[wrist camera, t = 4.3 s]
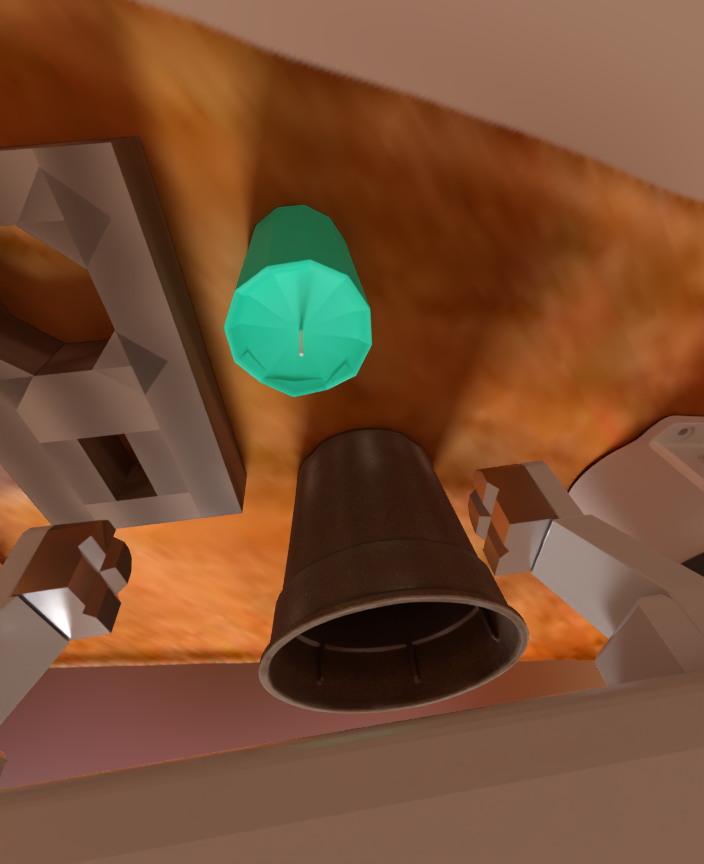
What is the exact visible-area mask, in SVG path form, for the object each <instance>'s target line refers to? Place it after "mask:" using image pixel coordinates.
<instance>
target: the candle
mask: <svg viewBox="0 0 704 864" xmlns="http://www.w3.org/2000/svg"><path fill="white" fill-rule="evenodd" d="M224 330H225V333H226V336H227V340H228V343H229V346H230V349H231V353H232V356H233V359H234V362H236V363H237V364H238V365H239V366H241V367H242V368H243V369H244V370H246V371H247V372H248V373H249V374H251V375H252V376H253V377H254V378H256V379H257V380H258V381H259V382H261V383H263V384H265V385H268V386H270V387H272V388H274V389H276V390H279V391H281V392H283V393H285V394H287V395H290V396H292V397H297V396H301V395H306V394H311V393H315V392H320V391H324V390H328V389H330V388H332V387H334V386H336V385H338V384H340V383H342V382H344V381H346V380H348V379H350V378H352V377H354V376H356V375H357V373H358V371H359V369H360V367H361V365H362V363H363V361H364V359H365V357H366V355H367V353H368V351H369V349H370V348H371V346H372V333H371V313H370V307H369V304H368V301H367V299H366V296H365V293H364V290H363V288H362V285H361V282H360V280H359V277H358V274H357V272H356V269H355V266H354V263H353V261H352V258H351V255H350V253H349V250H348V247H347V245H346V242H345V240H344V238H343V237H342V235H341V234H340V232H339V231H338V229H337V228H336V226H335V225H334V223H333V221H332V220H331V218H330V217H328V216H326V215H324V214H322V213H320V212H318V211H316V210H314V209H312V208H310V207H308V206H306V205H295V206H285V207H277V208H275V209H274V210H273V211H272V212H271V213H270V214H268V215H267V216H266V217H265V218H264V219H262V220H261V221H260V222H259V223H258V224H257V225H256V226H255V229H254V232H253V236H252V239H251V242H250V245H249V248H248V251H247V255H246V258H245V261H244V264H243V267H242V270H241V274H240V277H239V280H238V283H237V286H236V289H235V293H234V296H233V299H232V302H231V306H230V309H229V312H228V315H227V319H226V322H225V325H224Z"/></svg>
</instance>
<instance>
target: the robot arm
mask: <svg viewBox="0 0 704 864" xmlns="http://www.w3.org/2000/svg"><path fill="white" fill-rule="evenodd" d="M472 482H473V484H474V486H475V488H476V489H475V490H474V491H473V492H472V493H471V494H470V496H469V503H468V507H469V516H470V520H471V523H472V526H473V528H474V531H475V533H476V534H477V535H478V536H479V537H481V538H482V539H484V540H485V544H484V549H483V551H484V553H485V556H486V558H487V560H488V562H489V565H490V567H491V569H492V571H493V573H494V576H498V575H506V574H514V573H522V572H530V571H532V574H533V575H534V576H535V577H537V578H538V579H539V580H540V581H541V582H542V583H544V584H545V585H546V586H547V587H548V588H549V589H551V590H552V591H553V592H554V593H555V594H557V595H558V596H559V597H560V598H561V599H562V600H564V601H565V602H566V603H567V604H568V605H569V606H571V607H572V608H573V609H574V610H575V611H577V612H578V613H579V614H580V615H581V616H582V617H584V618H585V619H586V620H587V621H588V622H589V623H591V624H592V625H593V626H594V627H595V628H596V629H598V630H599V631H600V632H601V633H602V634H604V635H605V636H606V637H607V638H608V639H609V640H608V641H607V642H606V643H605V645H604V646H603V647H602V649H601V650H600V651H599V653H598V654H597V656H596V659H595V661H594V662H595V664H596V666H597V667H598V670H599V672H600V673H601V675H602V677H603V679H604V681H605V682H606V684H607V686H603V687H597V688H591V689H585V690H579V691H573V692H568V693H562V694H556V695H550V696H544V697H538V698H532V699H527V700H521V701H515V702H510V703H503V704H497V705H491V706H486V707H480V708H474V709H468V710H462V711H456V712H451V713H445V714H438V715H432V716H427V717H421V718H415V719H409V720H403V721H397V722H391V723H385V724H380V725H374V726H368V727H362V728H356V729H350V730H345V731H339V732H333V733H327V734H321V735H316V736H310V737H303V738H297V739H292V740H286V741H280V742H274V743H269V744H262V745H256V746H250V747H245V748H239V749H233V750H227V751H221V752H216V753H210V754H204V755H198V756H192V757H186V758H180V759H174V760H168V761H162V762H157V763H151V764H145V765H139V766H133V767H128V768H121V769H115V770H110V771H104V772H98V773H92V774H86V775H80V776H75V777H69V778H63V779H57V780H51V781H45V782H39V783H34V784H27V785H22V786H16V787H10V788H4V789H0V864H704V417H697V416H677V415H675V416H669V417H666V418H664V419H662V420H661V421H659V422H658V423H656V424H655V425H654V426H652V427H651V428H650V429H649V430H648V431H646V432H645V433H644V434H643V435H642V436H640V437H639V438H638V439H637V440H635V441H633V442H632V443H630V444H628V445H626V446H624V447H622V448H620V449H618V450H617V451H615V452H613V453H611V454H609V455H608V456H606V457H605V458H603V459H602V460H600V461H599V462H597V463H596V464H595V465H593V466H592V467H591V468H590V469H589V470H587V471H586V472H585V473H584V474H583V475H582V476H581V477H580V478H579V479H578V481H577V482H576V483H575V484H574V486H573V487H572V488H571V490H570V492H569V493H568V492H567V491H566V490H565V488H564V487H563V486H562V484H561V483H560V481H559V480H558V479H557V477H556V476H555V475H554V473H553V472H552V471H551V469H550V468H549V467H548V465H547V464H546V463H545V462H543V461H535V462H528V463H520V464H512V465H505V466H498V467H491V468H484V469H478V470H476V471H475V473H474V475H473V480H472ZM115 531H116V529H115V528H114V526H113V525H112V524H111V522H110V521H109V520H96V521H87V522H78V523H69V524H59V525H53V526H44V527H35V528H30V529H28V530H27V531H26V532H24V533H23V534H22V535H21V537H20V538H19V540H18V541H17V543H16V545H15V546H14V548H13V549H12V551H11V553H10V554H9V556H8V557H7V559H6V561H5V562H4V564H3V565H2V567H1V569H0V725H1V723H2V722H3V721H4V720H5V719H6V717H7V716H8V715H9V714H10V713H11V712H12V710H13V709H14V708H15V707H16V706H17V704H18V703H19V702H20V701H21V700H22V698H23V697H24V696H25V695H26V694H27V692H28V691H29V690H30V689H31V688H32V686H33V685H34V684H35V683H36V682H37V681H38V679H39V678H40V677H41V676H42V675H43V674H44V672H45V671H46V670H47V669H48V668H49V667H50V665H51V664H52V663H53V662H54V661H55V659H56V658H57V657H58V656H59V655H60V653H61V652H62V651H63V650H64V649H65V648H66V646H67V645H68V644H69V642H68V641H70V640H76V639H82V638H87V637H93V636H99V635H104V634H110V633H111V632H112V629H113V626H114V623H115V620H116V617H117V614H118V611H119V608H120V605H121V602H120V600H119V598H118V595H117V594H118V593H119V592H120V591H121V590H122V589H123V588H124V587H125V586H126V585H127V584H128V580H129V577H130V574H131V562H132V558H131V554H130V551H129V548H128V547H127V545H126V544H125V542H123V541H121V540H119V539H117V538H115V537H113V536H114V533H115ZM6 761H7V758H6V756H5V754H4V753H3V752H1V751H0V776H1V773H2V771H3V769H4V766H5V764H6Z"/></svg>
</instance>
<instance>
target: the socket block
mask: <svg viewBox="0 0 704 864" xmlns="http://www.w3.org/2000/svg"><path fill="white" fill-rule="evenodd" d="M16 224H17V225H16ZM5 225H16V226H17V227H19V228H21V229H22V230H24V231H25V232H27V233H29V234H30V235H32V236H33V237H35V238H37V239H38V240H40V241H42V242H43V243H45V244H46V245H48V246H50V247H51V248H53V249H54V250H56V251H58V252H59V253H61V254H62V255H64V256H66V257H67V258H69V259H70V260H72V261H74V262H75V263H77V264H79V265H80V266H82V267H83V268H85V269H87V270H88V272H89V274H90V277H91V279H92V281H93V283H94V285H95V287H96V290H97V292H98V294H99V296H100V298H101V301H102V303H103V305H104V307H105V309H106V311H107V314H108V316H109V318H110V320H111V322H112V324H113V327H114V329H115V331H114V333H113V334H112V336H111V338H110V340H100V341H90V342H80V343H70V344H64V343H63V342H61V341H59V340H57V339H55V338H53V337H51V336H50V335H48V334H46V333H44V332H42V331H40V330H38V329H36V328H34V327H32V326H30V325H29V324H27V323H25V322H23V321H21V320H19V319H17V318H15V317H13V316H10V314H9V313H8V311H7V309H6V308H5V306H4V305H3V303H2V301H1V300H0V464H1V465H2V466H3V468H4V469H5V470H6V471H7V472H8V474H9V475H10V476H11V477H12V478H13V480H14V481H15V482H16V483H17V484H18V486H19V487H20V488H21V489H22V490H23V492H24V493H25V494H26V495H27V496H28V498H29V499H30V500H31V501H32V502H33V503H34V505H35V506H36V507H37V508H38V509H39V511H40V512H41V513H42V514H43V515H44V517H45V518H46V519H47V520H48V521H49V523H50V524H51V525H52V526H53V525H59V524H69V523H78V522H87V521H96V520H109V521H110V522H111V524H112V525H113V526H114V528H115V529H118V528H126V527H134V526H142V525H150V524H158V523H166V522H174V521H182V520H190V519H198V518H207V517H215V516H223V515H231V514H239V513H242V510H243V502H244V494H245V486H246V478H247V477H246V474H245V470H244V467H243V464H242V461H241V458H240V455H239V452H238V448H237V445H236V442H235V439H234V436H233V433H232V429H231V426H230V423H229V420H228V417H227V414H226V410H225V407H224V404H223V401H222V398H221V395H220V391H219V388H218V385H217V382H216V379H215V376H214V372H213V369H212V366H211V363H210V360H209V357H208V354H207V350H206V347H205V344H204V341H203V338H202V335H201V331H200V328H199V325H198V322H197V319H196V316H195V312H194V309H193V306H192V303H191V300H190V297H189V293H188V290H187V287H186V284H185V281H184V278H183V274H182V271H181V268H180V265H179V262H178V259H177V256H176V252H175V249H174V246H173V243H172V240H171V237H170V233H169V230H168V227H167V224H166V221H165V218H164V214H163V211H162V208H161V205H160V202H159V199H158V195H157V192H156V189H155V186H154V183H153V180H152V176H151V173H150V170H149V167H148V164H147V161H146V158H145V154H144V151H143V148H142V145H141V142H140V139H139V136H138V137H125V138H112V139H100V140H87V141H74V142H61V143H48V144H35V145H22V146H9V147H0V226H5ZM117 434H125V436H126V437H127V439H128V441H129V443H130V445H131V447H132V449H133V451H134V452H135V454H136V456H137V458H138V460H139V462H140V463H136V464H133V463H132V461H131V459H130V457H129V456H128V454H127V452H126V450H125V448H124V446H123V445H122V443H121V441H120V439H119V437H118V436H117Z"/></svg>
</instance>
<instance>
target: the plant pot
mask: <svg viewBox="0 0 704 864" xmlns="http://www.w3.org/2000/svg"><path fill="white" fill-rule="evenodd" d="M528 640H529V631H528V628H527V625H526V623H525V622H524V620H523V618H522V617H521V615H520V614H519V613H518V612H517V611H516V610H514V609H513V608H512V607H510V606H509V605H508V604H507V602H506V600H505V599H504V597H503V595H502V593H501V591H500V589H499V587H498V585H497V583H496V581H495V580H494V578H493V576H492V574H491V572H490V570H489V568H488V567H487V566H486V564H485V563H484V562H483V561H482V560H480V559H479V558H478V556H477V554H476V552H475V550H474V548H473V546H472V545H471V543H470V541H469V539H468V537H467V535H466V533H465V531H464V529H463V527H462V525H461V523H460V521H459V519H458V517H457V515H456V513H455V511H454V509H453V507H452V505H451V503H450V501H449V499H448V497H447V495H446V493H445V491H444V489H443V487H442V485H441V483H440V481H439V479H438V477H437V475H436V473H435V471H434V469H433V467H432V464H431V462H430V460H429V458H428V456H427V455H426V453H425V451H424V450H423V449H422V447H420V446H419V445H416V444H415V443H414V442H412V441H411V440H409V439H408V438H406V437H405V436H404V435H403V434H400V433H397V432H394V431H390V430H384V429H360V430H354V431H349V432H346V433H342V434H339V435H337V436H334V437H332V438H330V439H327V440H326V441H324V442H323V443H321V444H320V445H319V446H318V447H317V449H316V450H315V451H314V453H313V454H312V455H310V456H309V457H308V458H307V459H305V460H304V461H303V463H302V465H301V467H300V470H299V473H298V477H297V487H296V496H295V504H294V512H293V520H292V528H291V535H290V543H289V550H288V557H287V564H286V571H285V577H284V584H283V590H282V592H281V593H280V595H279V597H278V600H277V603H276V608H275V614H274V621H273V628H272V634H271V640H270V644H269V645H268V646H267V647H266V649H265V651H264V652H263V654H262V657H261V660H260V665H259V678H260V681H261V683H262V685H263V686H264V687H265V689H266V690H267V691H268V692H269V693H271V694H272V695H273V696H275V697H276V698H278V699H280V700H282V701H284V702H286V703H289V704H292V705H295V706H298V707H300V708H305V709H309V710H314V711H321V712H333V713H374V712H386V711H394V710H401V709H408V708H414V707H418V706H423V705H427V704H432V703H436V702H439V701H443V700H446V699H449V698H452V697H455V696H457V695H460V694H462V693H465V692H468V691H470V690H472V689H474V688H477V687H479V686H481V685H483V684H485V683H487V682H489V681H490V680H493V679H494V678H496V677H498V676H499V675H501V674H502V673H504V672H506V671H507V670H508V669H509V668H511V667H512V666H513V665H514V664H515V663H516V662H517V661H518V660H519V659H520V657H521V656H522V655H523V653H524V652H525V650H526V647H527V645H528Z"/></svg>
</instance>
